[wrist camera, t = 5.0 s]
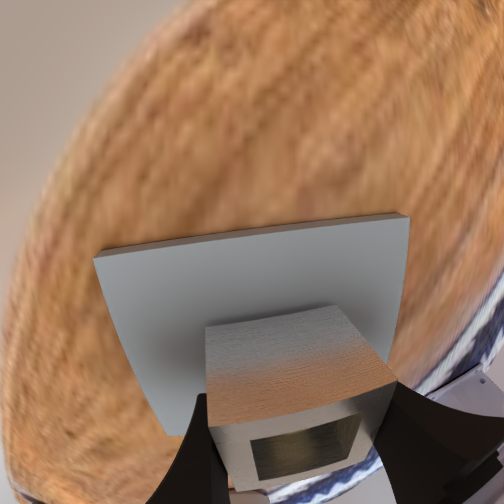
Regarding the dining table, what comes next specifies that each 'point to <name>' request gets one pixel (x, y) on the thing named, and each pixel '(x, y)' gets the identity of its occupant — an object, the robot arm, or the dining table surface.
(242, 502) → the can
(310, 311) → the collar
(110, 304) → the post block
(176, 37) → the dining table surface
